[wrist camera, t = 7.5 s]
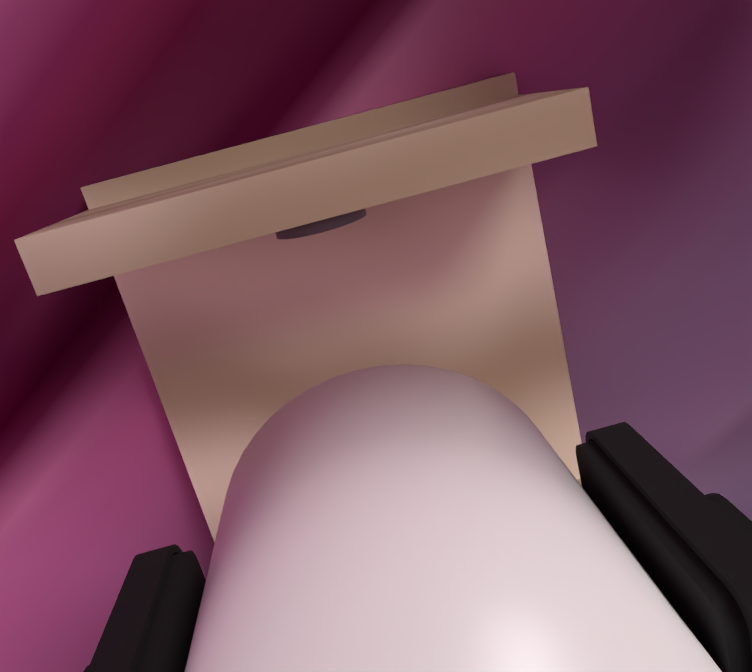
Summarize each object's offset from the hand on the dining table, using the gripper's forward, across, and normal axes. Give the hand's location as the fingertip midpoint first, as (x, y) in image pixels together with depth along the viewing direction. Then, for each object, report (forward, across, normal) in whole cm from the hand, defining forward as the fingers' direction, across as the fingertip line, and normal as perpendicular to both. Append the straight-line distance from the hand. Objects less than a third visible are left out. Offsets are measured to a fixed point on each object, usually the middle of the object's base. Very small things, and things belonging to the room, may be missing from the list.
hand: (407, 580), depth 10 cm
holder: (+9, 0, 0) cm, 9 cm away
